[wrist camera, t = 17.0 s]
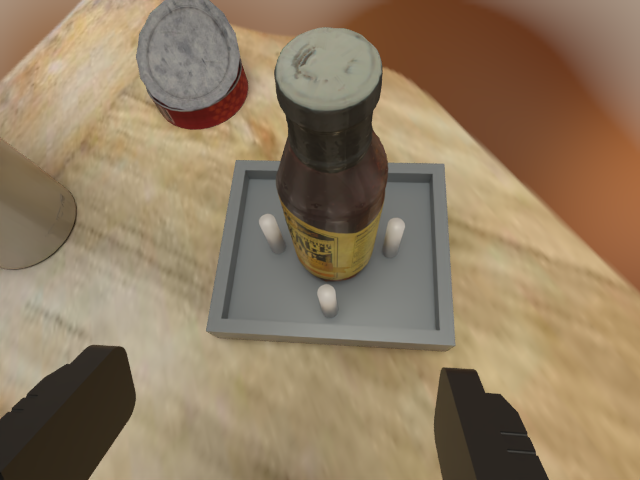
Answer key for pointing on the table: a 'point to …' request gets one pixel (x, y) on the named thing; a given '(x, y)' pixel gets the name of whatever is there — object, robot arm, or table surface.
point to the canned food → (191, 64)
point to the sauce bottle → (331, 150)
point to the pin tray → (346, 295)
